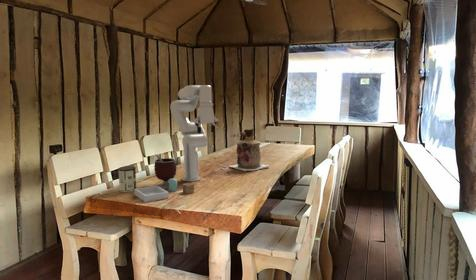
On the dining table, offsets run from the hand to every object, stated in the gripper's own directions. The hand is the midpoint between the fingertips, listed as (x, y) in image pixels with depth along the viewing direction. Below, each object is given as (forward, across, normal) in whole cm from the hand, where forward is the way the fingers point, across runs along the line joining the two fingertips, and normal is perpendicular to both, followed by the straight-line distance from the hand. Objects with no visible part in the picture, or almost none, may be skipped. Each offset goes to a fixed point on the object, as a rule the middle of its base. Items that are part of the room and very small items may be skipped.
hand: (206, 132), depth 231 cm
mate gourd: (+35, +20, -20) cm, 45 cm away
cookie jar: (+35, -58, -34) cm, 76 cm away
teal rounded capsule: (+35, +20, -6) cm, 41 cm away
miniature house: (+35, +43, -24) cm, 61 cm away
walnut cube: (+35, +15, +3) cm, 38 cm away
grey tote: (+35, +37, -2) cm, 51 cm away
